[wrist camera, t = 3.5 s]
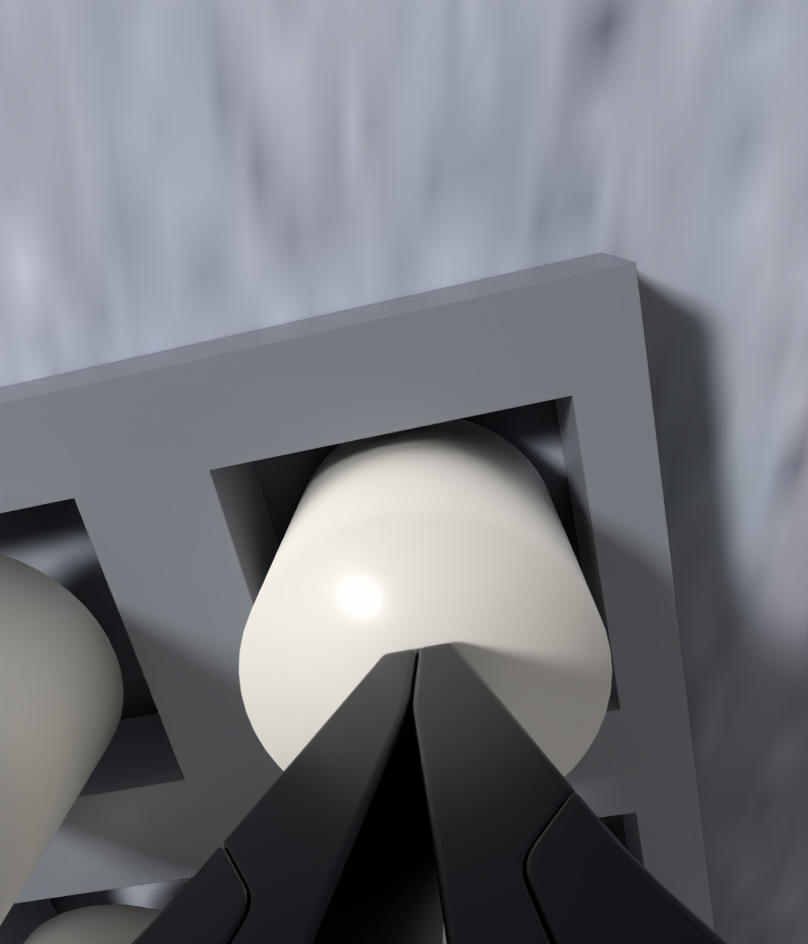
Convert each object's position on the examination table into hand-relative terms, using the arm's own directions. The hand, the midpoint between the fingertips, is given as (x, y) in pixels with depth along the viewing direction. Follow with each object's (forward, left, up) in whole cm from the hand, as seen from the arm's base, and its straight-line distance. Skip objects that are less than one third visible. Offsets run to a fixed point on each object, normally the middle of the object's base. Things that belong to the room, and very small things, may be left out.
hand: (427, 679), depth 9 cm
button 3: (0, 0, -4) cm, 4 cm away
